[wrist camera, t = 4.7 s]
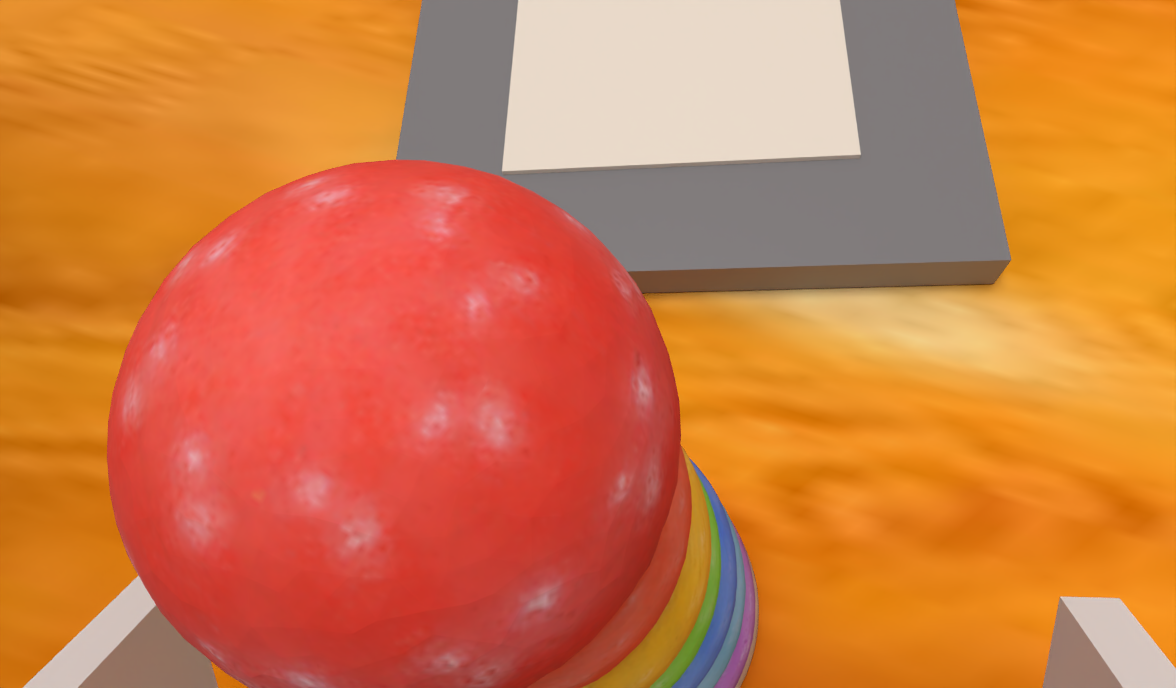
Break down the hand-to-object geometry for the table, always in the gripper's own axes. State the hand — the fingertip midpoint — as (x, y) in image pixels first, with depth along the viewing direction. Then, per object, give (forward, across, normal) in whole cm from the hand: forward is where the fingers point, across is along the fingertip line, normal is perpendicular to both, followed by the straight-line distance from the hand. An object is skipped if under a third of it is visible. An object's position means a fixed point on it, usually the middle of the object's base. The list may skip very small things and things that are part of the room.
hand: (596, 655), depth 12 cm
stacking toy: (+9, -1, -6) cm, 11 cm away
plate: (+23, +1, +8) cm, 24 cm away
